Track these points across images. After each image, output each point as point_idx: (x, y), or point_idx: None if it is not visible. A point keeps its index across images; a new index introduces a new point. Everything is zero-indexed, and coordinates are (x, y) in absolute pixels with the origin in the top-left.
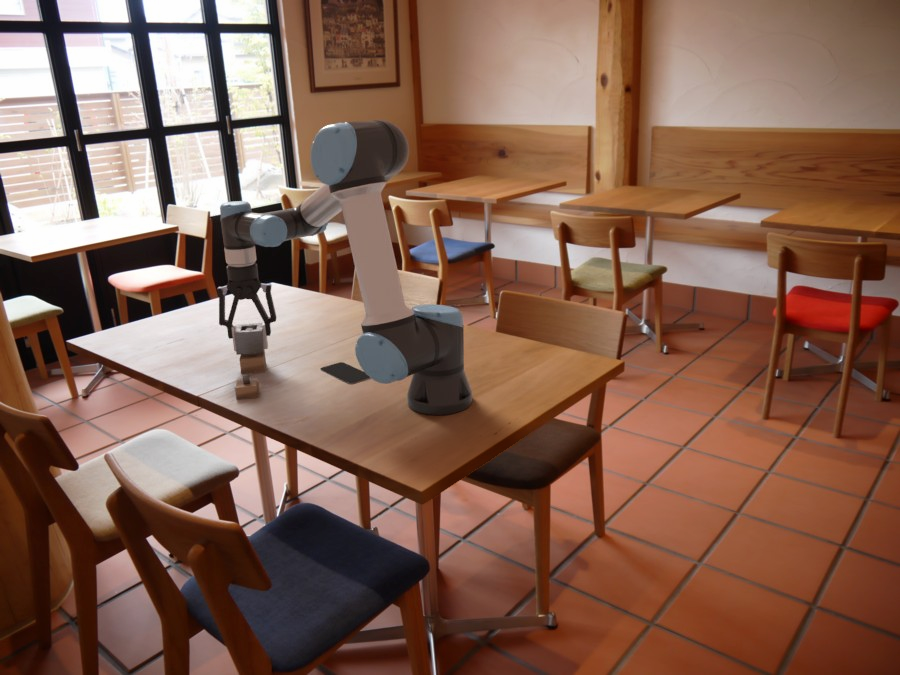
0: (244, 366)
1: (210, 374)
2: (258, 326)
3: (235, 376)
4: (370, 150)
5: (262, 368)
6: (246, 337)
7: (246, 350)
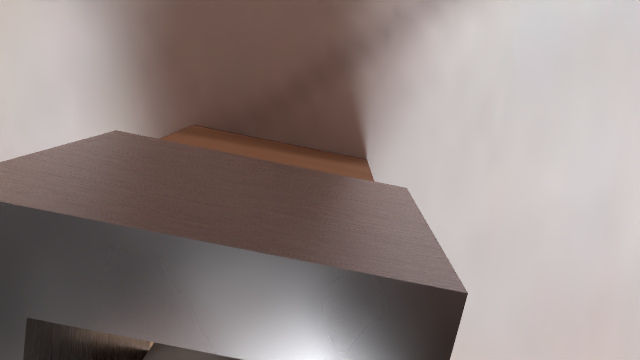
0: (337, 162)
1: (583, 241)
2: None
3: (416, 118)
4: None
5: (199, 130)
6: (252, 215)
7: (294, 175)
